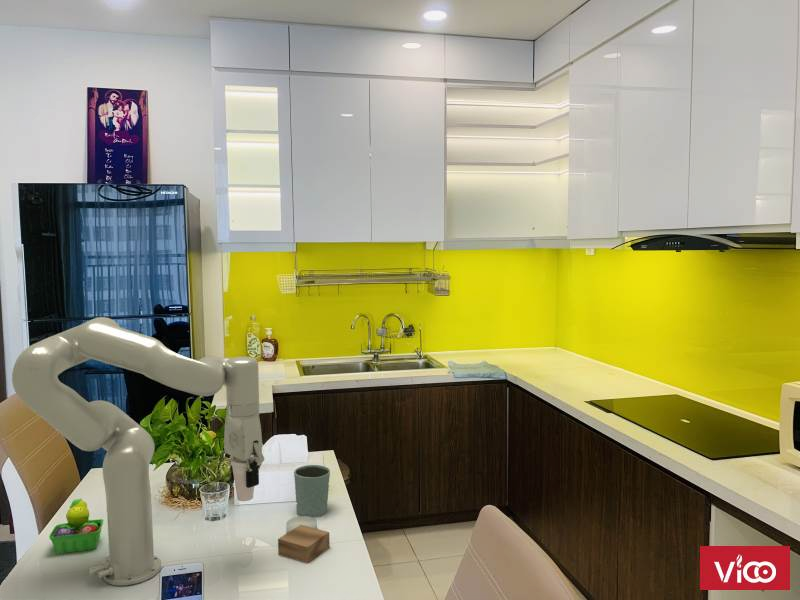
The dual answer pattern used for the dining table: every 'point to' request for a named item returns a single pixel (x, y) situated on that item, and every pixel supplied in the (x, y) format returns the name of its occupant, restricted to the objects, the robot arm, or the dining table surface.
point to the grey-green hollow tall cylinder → (311, 490)
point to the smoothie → (241, 479)
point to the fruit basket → (76, 530)
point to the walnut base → (303, 543)
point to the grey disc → (300, 522)
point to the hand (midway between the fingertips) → (244, 481)
